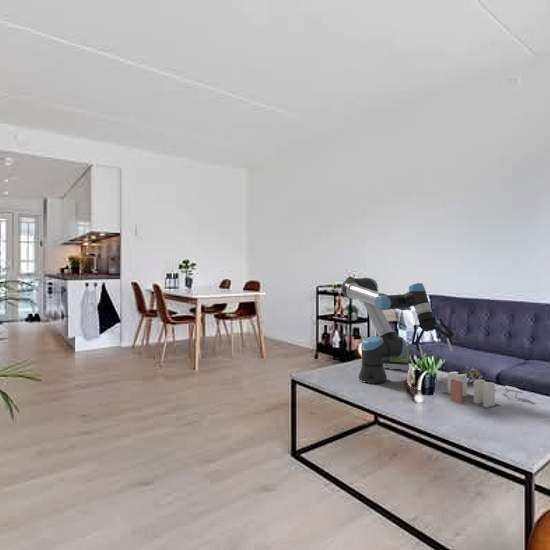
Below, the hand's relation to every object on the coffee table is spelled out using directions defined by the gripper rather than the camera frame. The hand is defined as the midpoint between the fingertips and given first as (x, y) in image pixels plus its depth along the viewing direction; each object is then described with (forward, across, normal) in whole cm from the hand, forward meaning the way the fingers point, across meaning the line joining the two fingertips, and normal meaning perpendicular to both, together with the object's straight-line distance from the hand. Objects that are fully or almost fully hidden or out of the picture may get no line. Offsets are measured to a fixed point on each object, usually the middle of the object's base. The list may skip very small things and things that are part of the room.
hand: (437, 354), depth 196 cm
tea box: (0, -20, +50) cm, 54 cm away
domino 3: (+23, +2, -3) cm, 23 cm away
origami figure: (+27, +28, +7) cm, 39 cm away
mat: (+23, +8, +2) cm, 24 cm away
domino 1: (+19, +3, +9) cm, 21 cm away
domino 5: (+26, +14, -5) cm, 30 cm away
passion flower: (+17, +14, +26) cm, 34 cm away
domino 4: (+24, +11, -2) cm, 27 cm away
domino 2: (+20, +6, +6) cm, 22 cm away
